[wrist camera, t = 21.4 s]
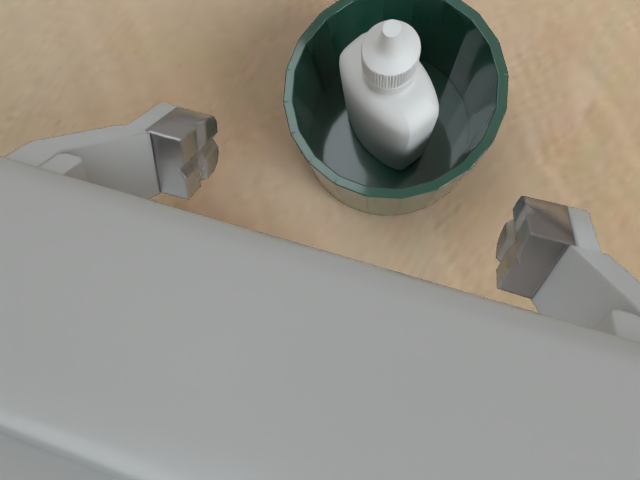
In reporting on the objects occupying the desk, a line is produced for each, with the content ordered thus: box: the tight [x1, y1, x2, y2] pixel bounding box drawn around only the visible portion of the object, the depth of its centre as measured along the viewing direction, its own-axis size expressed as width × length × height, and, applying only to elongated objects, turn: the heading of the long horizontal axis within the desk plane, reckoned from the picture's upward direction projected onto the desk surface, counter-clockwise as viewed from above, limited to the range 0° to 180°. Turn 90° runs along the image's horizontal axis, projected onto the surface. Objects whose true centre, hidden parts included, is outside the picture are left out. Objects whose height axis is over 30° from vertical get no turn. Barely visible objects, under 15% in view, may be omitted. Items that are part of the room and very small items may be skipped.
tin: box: [283, 0, 509, 216], centre depth 25 cm, size 11×11×7 cm
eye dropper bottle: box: [339, 19, 439, 170], centre depth 22 cm, size 4×6×12 cm
